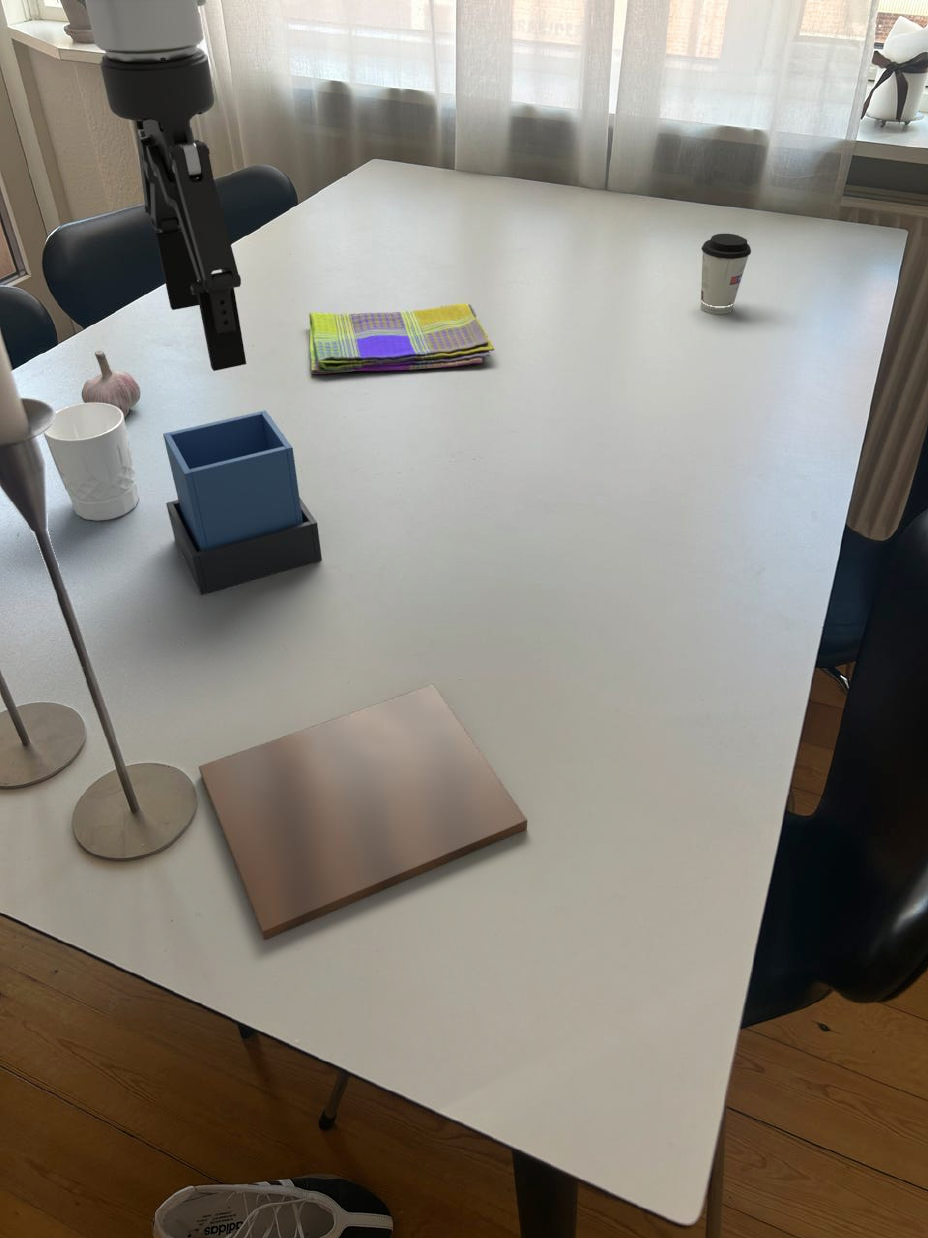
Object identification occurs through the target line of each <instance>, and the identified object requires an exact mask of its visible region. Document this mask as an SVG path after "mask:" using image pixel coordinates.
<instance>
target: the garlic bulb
mask: <svg viewBox="0 0 928 1238" xmlns="http://www.w3.org/2000/svg"><path fill="white" fill-rule="evenodd" d="M94 356H95V358H96V360H97V363H98V365H99V369H100V373H101V374H98V375H96V376H95V377H94V378H92V379H88V380H87V381H85V382H84V384H83V387H82V390H81V399H82V401H83V403H106V404H110V405H113V406H116V407H117V408H119V409H120V410H121V411H122V413H123V416H124V419H125V418H126V417H127V416H128V414H129V410H130V409H131V408H133V407H134V406H136V405H137V404H138V403H139V400H140V399H141V388H140V386H139V384H138V382H136V380H135V378H134V377H133V376H132V375H131V374H130V373H129V372H127V371H123V370H112V369H111V367H110V364H109V362H108V359H107V357H106V354H105V352H104V351H102V350H100V349H99V350H95V352H94Z"/></svg>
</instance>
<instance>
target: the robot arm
mask: <svg viewBox="0 0 928 1238" xmlns="http://www.w3.org/2000/svg"><path fill="white" fill-rule="evenodd" d="M84 2H85V7H86V11H87V15H88V19H89V24H90V28H91V33H92V37H93V41H94V45H95V47H97V48H98V49H99V50H101V51H104V52H105V54H103V55H102V57H101V60H100V61H99V66H100V70H101V74H102V79H103V84H104V88H105V93H106V97H107V102H108V106H109V109H110V110H111V112H112V113H113V114H114V115H115V116H117V117H119V118H121V119H125V120H128V121H133V124H134V125H133V126H134V131H135V136H136V142H137V152H138V160H139V166H140V175H141V184H142V185H141V186H142V192H143V200H144V208H143V209H144V211H145V213H146V215H147V217H150V224H151V227H152V228H153V230H154V231H159V232H155V233H154V236H155V239H156V240H155V242H156V246H157V250H158V255H159V259H160V264H161V270H162V273H163V278H164V283H165V287H166V292H167V297H168V303H169V306H170V307H169V308H170V309H171V310H172V311H175V310H180V309H181V310H182V309H186V308H191V307H197V306H199V310H200V317H201V321H202V327H203V332H204V337H205V342H206V347H207V353H208V357H209V364H210V368H211V369H212V371H213V372H215V371H216V372H217V371H221V370H225V369H230V368H235V367H240V366H244V365H247V360H246V352H245V346H244V340H243V335H242V329H241V322H240V317H239V310H238V304H237V299H236V292H235V289H236V288H240V287H241V285H242V278H241V274H239V271H238V266H237V263H236V259H235V255H234V251H233V248H232V244H231V240H230V236H229V232H228V229H227V225H226V220H225V217H224V213H223V210H222V206H221V201H220V197H219V195H218V190H217V187H216V182H215V179H214V173H213V169H212V163H211V159H210V153H211V152H210V148H209V146H208V144H207V143H206V141H201V139H200V138H197V139H195V137H194V134H193V128H192V127H191V120H192V118H194V117H195V116H196V115H203V114H205V113H207V112H208V111H210V110H211V109H212V108H213V106H214V104H215V93H214V88H213V82H212V81H213V80H212V75H211V69H210V62H209V56H208V55H207V54H206V53H205V51H204V50H203V49H202V48H200V47H198V45H200V44H201V43H202V42H203V40H204V39H205V37H204V30H203V23H202V17H201V13H200V11H199V7H202V6H205V5H206V2H207V1H206V0H84ZM219 270H220V272H215V271H219ZM213 272H214V273H213Z"/></svg>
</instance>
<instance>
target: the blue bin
mask: <svg viewBox="0 0 928 1238" xmlns="http://www.w3.org/2000/svg"><path fill="white" fill-rule="evenodd" d="M162 436H163V440H164V445H165V448H166V449H165V450H166V453H167V457H168V461H169V466H170V470H171V473H172V479H173V483H174V488H175V492H176V496H177V500H179V505H180V509H181V513H182V517H183V522H184V526H185V529H186V531H187V533H188V535H189V537H190V539H191V541H192V543H193V545H194V547H195V549H196V551H197V552H200V551H203V550H207V549H211V548H214V547H218V546H222V545H225V544H229V543H233V542H236V541H240V540H244V539H247V538H251V537H254V536H258V535H262V534H265V533H269V532H273V531H276V530H280V529H284V528H287V527H291V526H294V525H298V524H302V523H303V520H302V512H301V505H300V498H301V497H300V492H299V491H300V490H299V484H298V476H297V470H296V469H297V468H296V463H295V462H296V461H295V456H294V455H295V454H294V448H293V446H292V445H291V443H290V442H289V441H288V439H287V438H286V436H285V434H283V432H282V431H281V430H280V428H279V426H278V425H277V424H276V422H275V421H274V420H273V419H272V417H271V416H270V414H269V413H268V411H267V410H261V411H257V412H252V413H247V414H244V415H238V416H234V417H230V418H226V419H222V420H217V421H214V422H208V423H205V424H200V425H195V426H191V427H186V428H183V429H177V430H173V431H169V432H165V433H162ZM299 497H300V498H299Z"/></svg>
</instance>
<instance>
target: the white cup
mask: <svg viewBox="0 0 928 1238" xmlns="http://www.w3.org/2000/svg"><path fill="white" fill-rule="evenodd" d="M55 412H56V420H55V422H54V424H53V425H52V426H51V427H50V428H49V429H48V430H47V431H45V432H44V433H43V435H44V438H45V441H46V443H47V446H48V448H49V449H48V450H49V451H50V454H51V457H52V459H53V462H54V465H55V467H56V469H57V472H58V475H59V477H60V480H61V482H62V485H63V486H64V489H65V491H66V492H67V495H68V496H69V500H70V501H71V505H72V507H73V510H74V513H75V514H76V515H77V516H79V517H80V518H83V519H84V520H89V521H97V522H100V521H108V520H113V519H116V518H119V517H122V516H125V515H127V514H128V513H129V512H131V511H132V510H133V509H134V508H136V506H137V504H138V502H139V500H140V497H139V491H138V487H137V483H136V477H135V476H136V472H135V466H134V461H133V456H132V450H131V445H130V439H129V435H128V430H127V427H126V421H125V418H124V416H123V413H122V411H121V410H120V409H119V408H117V407H116V406H113V405H110V404H106V403H84V402H83V403H77V404H72V405H69V406H65V407H63V408H61V409H58V410H56V411H55Z"/></svg>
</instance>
